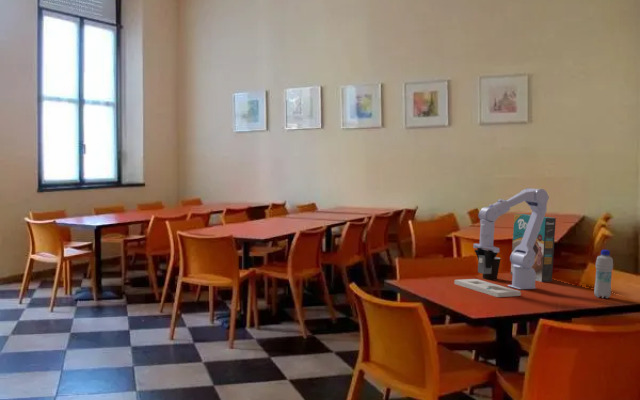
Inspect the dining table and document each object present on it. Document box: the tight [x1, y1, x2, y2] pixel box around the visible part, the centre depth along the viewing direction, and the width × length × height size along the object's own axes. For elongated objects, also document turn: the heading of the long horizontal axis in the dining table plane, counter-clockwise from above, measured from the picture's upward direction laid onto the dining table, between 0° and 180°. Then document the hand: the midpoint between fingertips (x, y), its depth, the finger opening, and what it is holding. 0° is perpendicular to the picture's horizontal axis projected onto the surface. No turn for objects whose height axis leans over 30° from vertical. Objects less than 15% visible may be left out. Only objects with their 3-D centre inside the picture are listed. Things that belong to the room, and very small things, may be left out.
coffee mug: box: [482, 256, 502, 281], centre depth 292 cm, size 12×9×10 cm
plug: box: [477, 255, 492, 275], centre depth 263 cm, size 4×4×8 cm
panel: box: [454, 278, 522, 298], centre depth 262 cm, size 12×28×2 cm, turn 25°
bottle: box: [593, 249, 614, 299], centre depth 256 cm, size 7×7×20 cm
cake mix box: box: [510, 213, 557, 283], centre depth 298 cm, size 22×6×30 cm, turn 22°
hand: (485, 267), depth 263 cm, fingers closed on plug, 4 cm apart
